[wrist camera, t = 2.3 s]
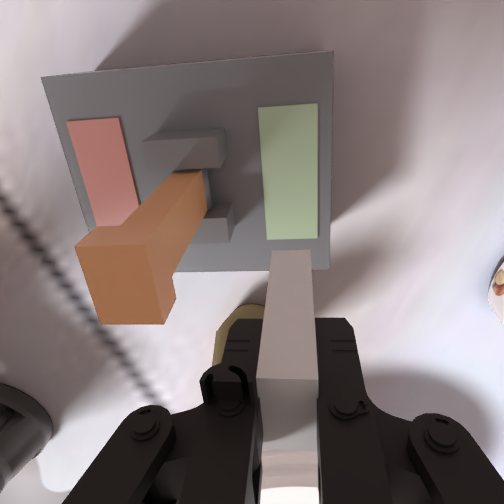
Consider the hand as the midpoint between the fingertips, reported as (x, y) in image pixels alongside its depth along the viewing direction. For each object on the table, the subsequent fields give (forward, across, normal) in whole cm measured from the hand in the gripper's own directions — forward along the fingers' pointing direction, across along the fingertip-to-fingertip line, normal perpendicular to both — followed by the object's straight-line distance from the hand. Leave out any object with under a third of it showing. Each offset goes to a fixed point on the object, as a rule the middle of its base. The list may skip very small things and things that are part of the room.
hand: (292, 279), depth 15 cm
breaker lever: (+14, -7, 0) cm, 16 cm away
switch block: (+22, -7, 0) cm, 23 cm away
